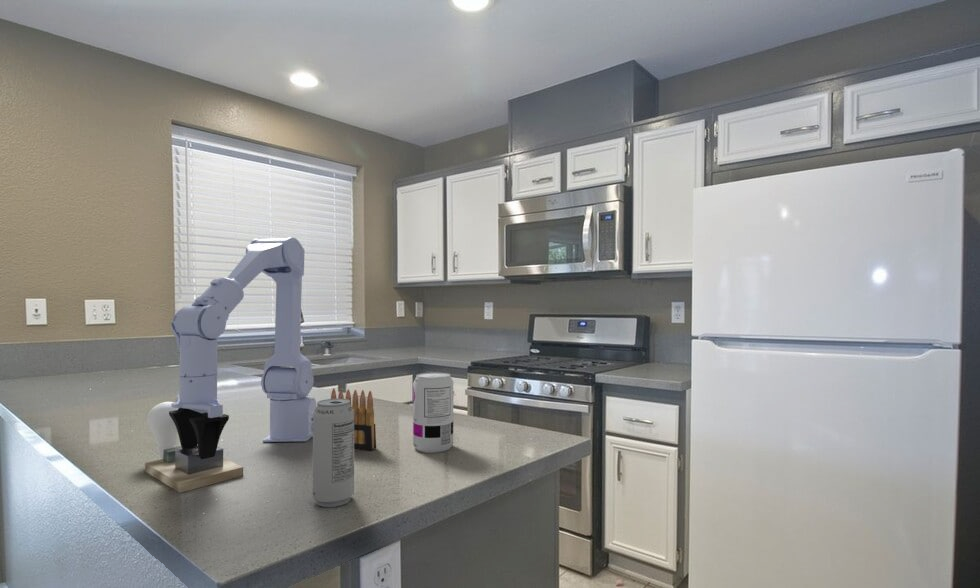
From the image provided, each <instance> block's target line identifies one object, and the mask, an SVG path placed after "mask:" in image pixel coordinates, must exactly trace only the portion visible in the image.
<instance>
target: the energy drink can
mask: <svg viewBox="0 0 980 588" xmlns="http://www.w3.org/2000/svg"><path fill="white" fill-rule="evenodd" d="M316 405H317V407H316V409H315V411H314V413H313V436H312V498H313V500H315V501H316V503H315V504H316V505H318V506H319V507H322V508H333V507H339V506H343V505H345V504H347V503H349V502H350V501H351V497H353V495H354V493H355V449H354V410H353V408H352V404H351V405H350V400H348V399H345V398H344V399H338V398H337V399H331V398H327V399H322V400H318V401H316Z"/></svg>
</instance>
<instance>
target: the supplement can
mask: <svg viewBox="0 0 980 588" xmlns="http://www.w3.org/2000/svg"><path fill="white" fill-rule="evenodd" d="M412 391H413V392H412V397H413V399H412V405H413V406H412V410H413V412H412V415H413V416H412V417H413V418H412V420H413V422H412V424H413V425H412V436H413V437H412V445H413V448H415V449H416V451H418V452H420V453H426V454H427V453H429V454H435V453H436V454H437V453H443V452H447V451H448V450H450V449H451V447H452V446H453V445H454V380H453V378H452V376H451V374H450V373H447V372H424V373H418V374H416V377H415V378H414V380H413V382H412Z"/></svg>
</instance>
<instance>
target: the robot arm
mask: <svg viewBox="0 0 980 588" xmlns="http://www.w3.org/2000/svg"><path fill="white" fill-rule="evenodd" d="M305 251H306V250H305V248H304V247H303V245H302V243H301V242H300V241H299V240H298V239H297V238H296V237H293V236H291V237H287V238H284V237H283V238H254V239H253V240H251V241H250V243H249V244H248V245H247V246H245V254H244V256H243V257H242V258H241V260H240V261H239V262H238V264H237V265H236V266H235V267H234V268H233V270H232V271H231V273H229V275H227V277H220V278H214V279H213V280H211V281H210V282H209V283H210V285H209V286H208V288H207V289H206V290H205V291H204V292H203V293H201V295H199V296H197V297H196V298H195V300H194V302H193V303H192V304H191V305H187V306H183V307H181V308H180V309H179V310H178V311H177V312H176V313H175V314H174V316H173V319H172V321H171V322H170V329H171V331H172V333H173V335H174V336H175V339H176V346H177V348H178V349H179V367H178V368H179V370H178V371H179V385H178V388H179V389H178V391H179V394H178V395H176V399H175V401H176V402H174V403H171V407H172V408H178V410H174V411H170V412H169V415H170V417H171V418H172V420H173V422H174V424H175V426H176V429H177V432H178V434H177V436H178V439H179V442H180V446H181V447H182V449H184V448H189V447H194V446H197V445H198V452H199V456H200V459H206V458H211V457H214V456H215V453H216V450H217V447H219V446H218V445H219V442H220V438H221V435H222V433H223V430H224V428H225V426H226V424H227V423H228V421H230V420H229V419H230V415H229V414H227V413H224V411H223V410H224V409H223V408H224V405H223V404H221V403H220V400H219V398H218V338H219V337H220V336H222V334H224V332H225V330H226V328H227V327H226V326H227V321H228V320H229V317H230V314H231V313H232V312H233V310H234V309H235V308H236V307H237V306H238V305H239V304H240V303H241V302H242V300H243V299H244V296H245V293H244V289H245V288H246V287H247V286H248V285H249V284H251V282H252V281H254V279H256V278H257V276H259V275H260V274H261V273H263V274H264V275H265V276H267V277H270V278H271V279H272V280H273V281H274V282H275V284H276V285H275V286H276V288H275V289H276V290H275V319H274V320H275V321H274V323H275V325H274V354H273V355H271V356H270V357H269V358H268V359H267V360H266V361H265V362H264V367H263V368H264V369H263V372H262V376H261V378H260V384H261V389H262V392H263V393H264V394H266V399H269V434H268V435H267V436H266V437H264V438H263V439H262V442H264V443H267V442H268V443H271V442H272V443H275V442H277V443H278V442H279V443H280V442H281V443H284V442H285V443H286V442H287V443H288V442H308V441H309V440H310V439H311V438H313V413H314V411H315V409H316V407H317V400H316V398H315V397H309V394H310V392H311V391H312V389H313V386H314V382H315V380H314V374H313V370H312V361H311V360H310V359H308V357H306V356H305V355H303V354H302V353H301V334H302V333H301V330H302V328H301V327H302V325H301V322H302V289H303V288H302V287H303V286H302V285H303V284H302V283H303V281H302V280H303V276H305V255H306V254H305Z"/></svg>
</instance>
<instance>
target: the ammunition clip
mask: <svg viewBox="0 0 980 588" xmlns="http://www.w3.org/2000/svg"><path fill="white" fill-rule="evenodd" d="M372 393H373V392H372V390H369V392H368V394H367V399H366V394H365V390H364V389H362V390H361V393H360V396H359V395H358V392H357V390H356V389H355V390H354V391H353V393H352V395H351V391H350V389H347V390H346V393H345V396H344V392H343V388H340V389H339V392H338V396H337V392H336V389H335V388H332V391H331V393H330V399H348V400H350V405H351V407H352V408H353V410H354V450H358V451H366V452H371V451H374V450H376V449H377V437H376V436H377V435H376V423H375V409H374V399H373V394H372Z"/></svg>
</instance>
